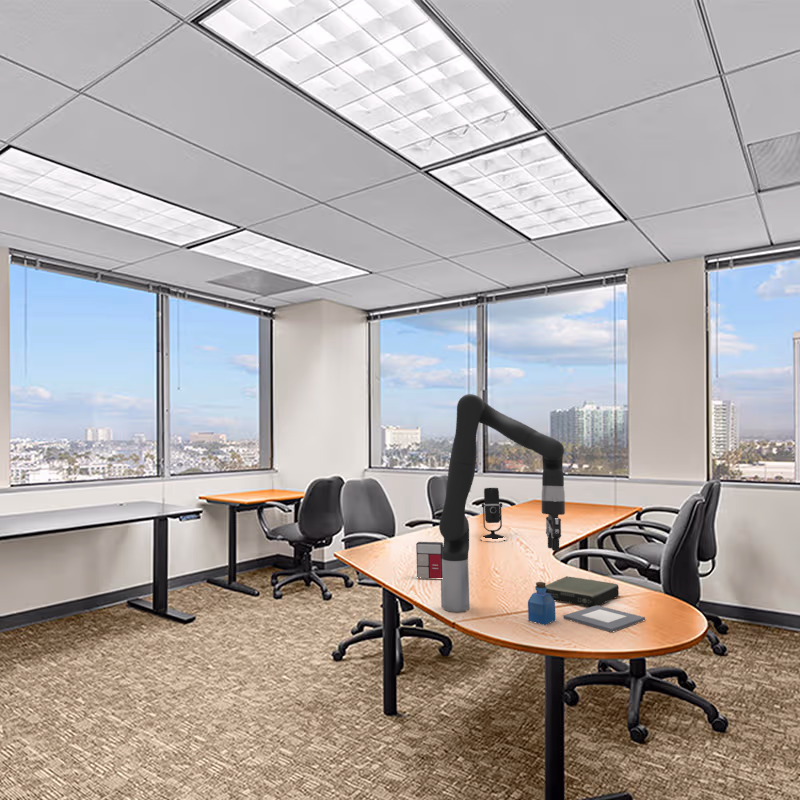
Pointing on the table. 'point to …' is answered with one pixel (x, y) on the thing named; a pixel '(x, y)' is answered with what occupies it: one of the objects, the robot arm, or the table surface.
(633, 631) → the table surface
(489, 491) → the microphone
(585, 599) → the network switch
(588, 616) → the mat
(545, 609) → the perfume bottle
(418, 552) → the grey and red box
